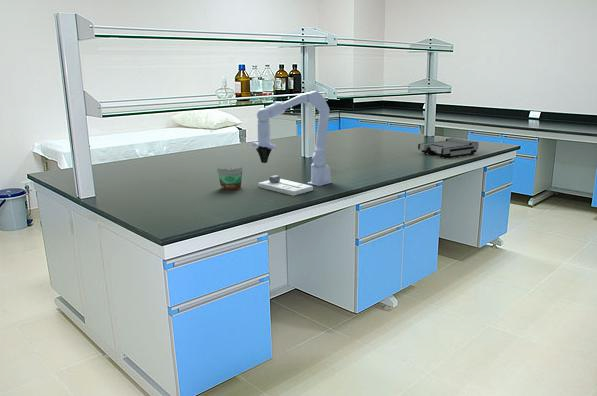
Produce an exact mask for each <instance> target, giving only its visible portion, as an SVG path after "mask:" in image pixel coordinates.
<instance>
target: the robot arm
mask: <svg viewBox="0 0 597 396" xmlns="http://www.w3.org/2000/svg"><path fill="white" fill-rule="evenodd" d="M308 103H309V104H310V105H311V106H313V107H315V108H316V109H317V111H318V112H319V113H318V114H319V115H318V124H317V129H316V130H317V131H316V139H315V147H314V151H313V152H312V154H311V158H312V163H311V165H310V181H308V182H307V185H312V186H313V185H314V186H318V187H321V186H325V185H329V184H332V183H333V182H332V181H331V167H330V166H329V164H326V162H327V158H326V144H327V143H326V142H327V141H326V140H327V134H328V127H329V125H328V124H329V119H330V107H329V105H328V103H327V101H326V99H325V97H324V96H323V95H322V94H321V93H320V92H319V91H318V90H311V91H310V92H309V91H308V92H304V93H301V94H299V95H297V96H295V97H292V98H290V99H288V100H286V101H283V102H282V101H278V100H277V101H276V100H275V101H273V103H272V104H270V105H265V106H264V108H260V109H259V110H258V111H257V114H256V118H257V141H252V143H251V145H252V147H256V148H255V150H256V152H257V153H258V156H259V158H260V163H262V164H267V163H268V161H269V157H270V154H271V153H272V151H274V150H277V145H276V144H273V143H271V132H270V131H271V127H270V118H271V119H273V118H275V117H278V116H280V115H282V114H284V113H285V112H286V110H287V109H289V108H292V107H294V106H297V105H299V104H305V105H306V104H308Z"/></svg>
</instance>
